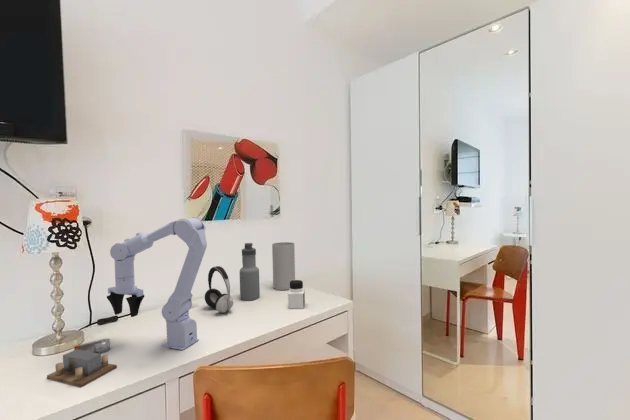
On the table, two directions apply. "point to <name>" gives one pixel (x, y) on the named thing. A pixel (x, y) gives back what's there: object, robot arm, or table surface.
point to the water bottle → (249, 274)
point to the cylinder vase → (283, 265)
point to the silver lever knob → (95, 346)
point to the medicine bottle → (296, 295)
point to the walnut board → (86, 378)
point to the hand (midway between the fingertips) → (126, 314)
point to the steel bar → (82, 362)
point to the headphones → (218, 292)
